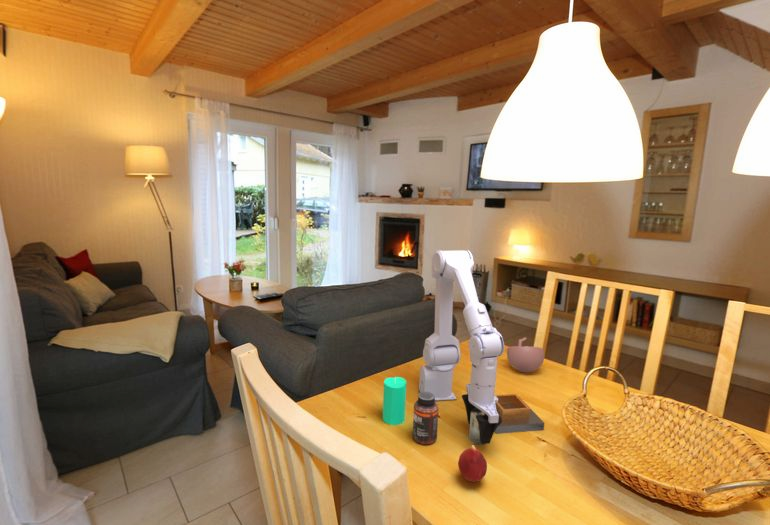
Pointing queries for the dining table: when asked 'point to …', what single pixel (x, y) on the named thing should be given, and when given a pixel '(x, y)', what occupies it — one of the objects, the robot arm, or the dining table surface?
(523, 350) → the mortar and pestle
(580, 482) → the dining table surface
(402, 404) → the candle
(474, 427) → the spout can
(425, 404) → the supplement bottle
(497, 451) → the dining table surface
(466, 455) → the onion
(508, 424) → the wooden socket on base
